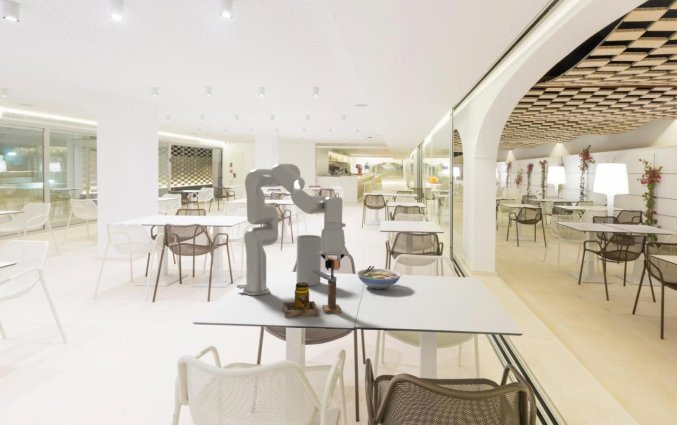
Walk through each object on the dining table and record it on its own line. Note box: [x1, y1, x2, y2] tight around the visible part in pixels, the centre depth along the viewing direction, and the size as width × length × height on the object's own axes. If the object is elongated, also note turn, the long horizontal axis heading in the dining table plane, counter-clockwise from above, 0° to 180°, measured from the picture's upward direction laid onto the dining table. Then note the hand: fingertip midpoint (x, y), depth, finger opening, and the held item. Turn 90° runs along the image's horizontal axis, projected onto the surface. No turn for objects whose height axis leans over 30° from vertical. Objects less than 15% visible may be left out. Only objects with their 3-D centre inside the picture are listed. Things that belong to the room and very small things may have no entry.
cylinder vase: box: [296, 234, 322, 287], centre depth 227 cm, size 12×12×25 cm
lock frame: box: [282, 281, 342, 318], centre depth 182 cm, size 24×12×12 cm, turn 101°
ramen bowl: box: [356, 265, 402, 290], centre depth 223 cm, size 25×23×8 cm
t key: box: [312, 256, 340, 283], centre depth 188 cm, size 22×4×10 cm, turn 29°
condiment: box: [290, 282, 310, 310], centre depth 181 cm, size 7×8×12 cm
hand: (332, 269), depth 182 cm, fingers closed on t key, 3 cm apart
